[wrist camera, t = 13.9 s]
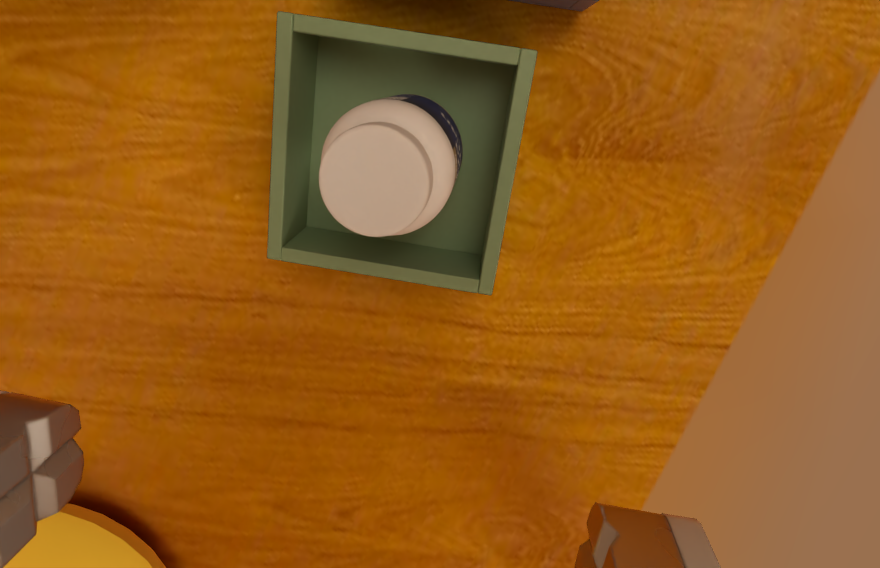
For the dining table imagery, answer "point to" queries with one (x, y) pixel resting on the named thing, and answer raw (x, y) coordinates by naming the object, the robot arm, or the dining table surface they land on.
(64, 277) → the dining table surface
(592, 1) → the blue bin
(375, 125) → the pill bottle
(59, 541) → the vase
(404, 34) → the green bin
